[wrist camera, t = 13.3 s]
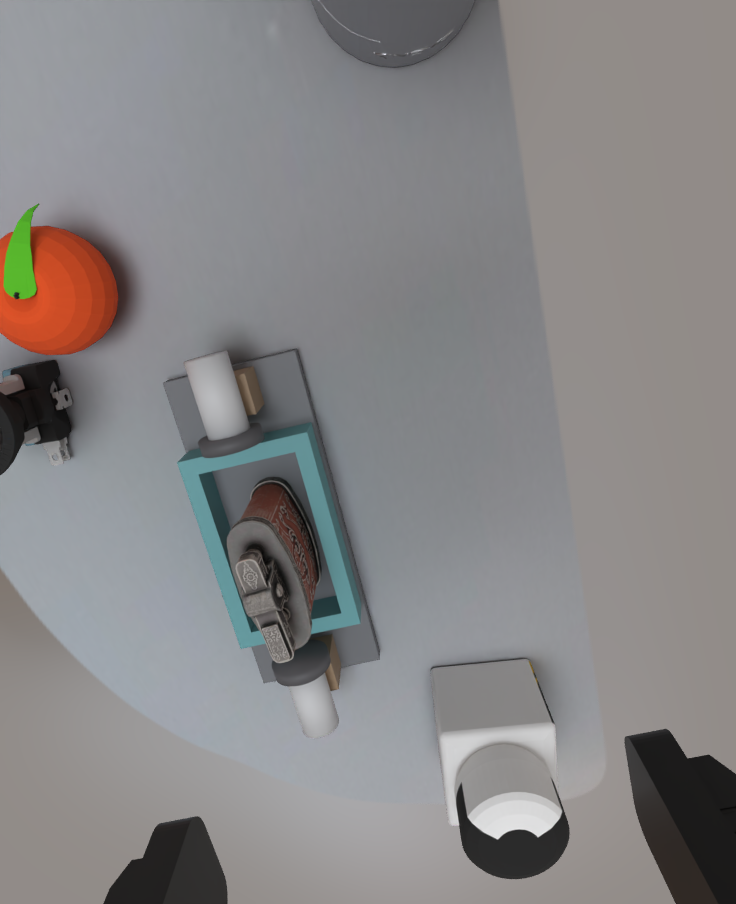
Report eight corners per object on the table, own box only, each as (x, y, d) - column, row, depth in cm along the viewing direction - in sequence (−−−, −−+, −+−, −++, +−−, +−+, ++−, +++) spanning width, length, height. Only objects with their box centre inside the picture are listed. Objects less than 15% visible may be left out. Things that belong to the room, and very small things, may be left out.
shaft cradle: (161, 361, 40) (119, 380, 33) (291, 329, 39) (274, 342, 33) (270, 688, 46) (253, 757, 40) (383, 665, 46) (384, 732, 39)
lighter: (241, 484, 41) (200, 552, 31) (291, 469, 41) (265, 532, 31) (284, 592, 43) (258, 686, 33) (331, 579, 43) (319, 669, 33)
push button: (107, 451, 41) (26, 507, 32) (28, 464, 42) (-76, 523, 32) (77, 350, 40) (-19, 376, 30) (-5, 364, 40) (-125, 395, 30)
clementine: (17, 204, 37) (-64, 191, 30) (135, 216, 37) (82, 205, 31) (25, 342, 40) (-49, 357, 33) (137, 352, 40) (87, 370, 33)
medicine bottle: (534, 739, 47) (585, 891, 36) (438, 748, 48) (458, 902, 36) (529, 656, 45) (581, 789, 34) (429, 665, 46) (447, 801, 34)
